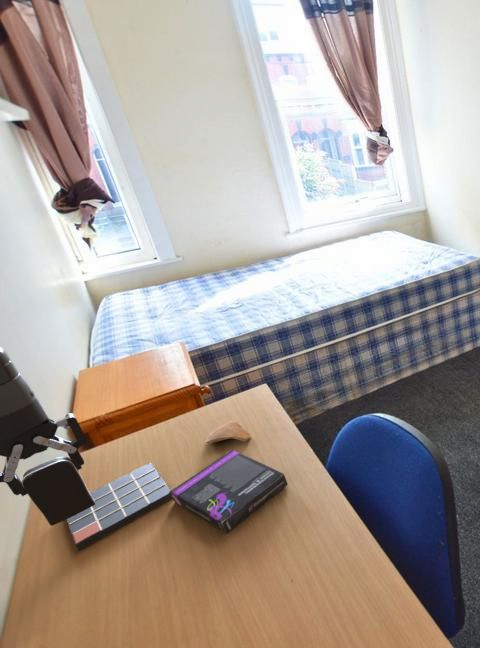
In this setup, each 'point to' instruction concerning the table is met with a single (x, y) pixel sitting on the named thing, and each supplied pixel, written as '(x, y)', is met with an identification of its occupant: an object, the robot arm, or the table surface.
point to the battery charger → (57, 489)
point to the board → (119, 505)
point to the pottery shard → (228, 433)
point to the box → (229, 490)
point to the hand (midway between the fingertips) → (52, 480)
